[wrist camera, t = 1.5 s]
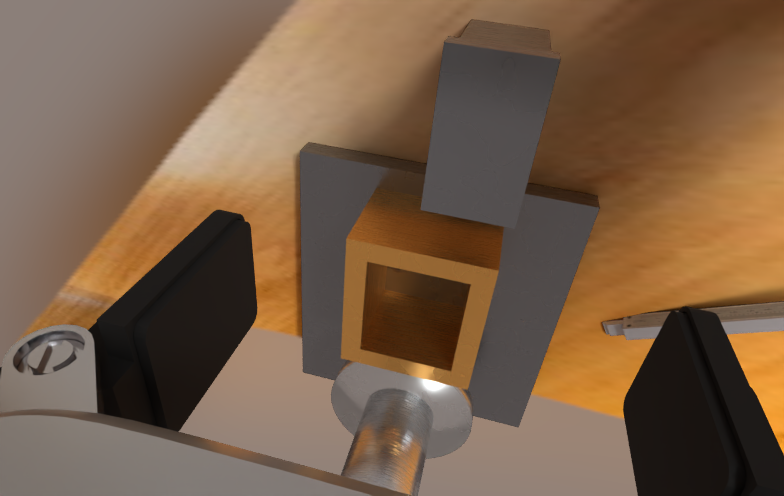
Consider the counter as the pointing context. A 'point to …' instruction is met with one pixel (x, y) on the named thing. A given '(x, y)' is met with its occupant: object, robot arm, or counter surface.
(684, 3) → the counter surface
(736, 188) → the counter surface
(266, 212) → the counter surface
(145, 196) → the counter surface
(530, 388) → the post
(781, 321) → the caliper
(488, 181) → the tall grey pillar block
